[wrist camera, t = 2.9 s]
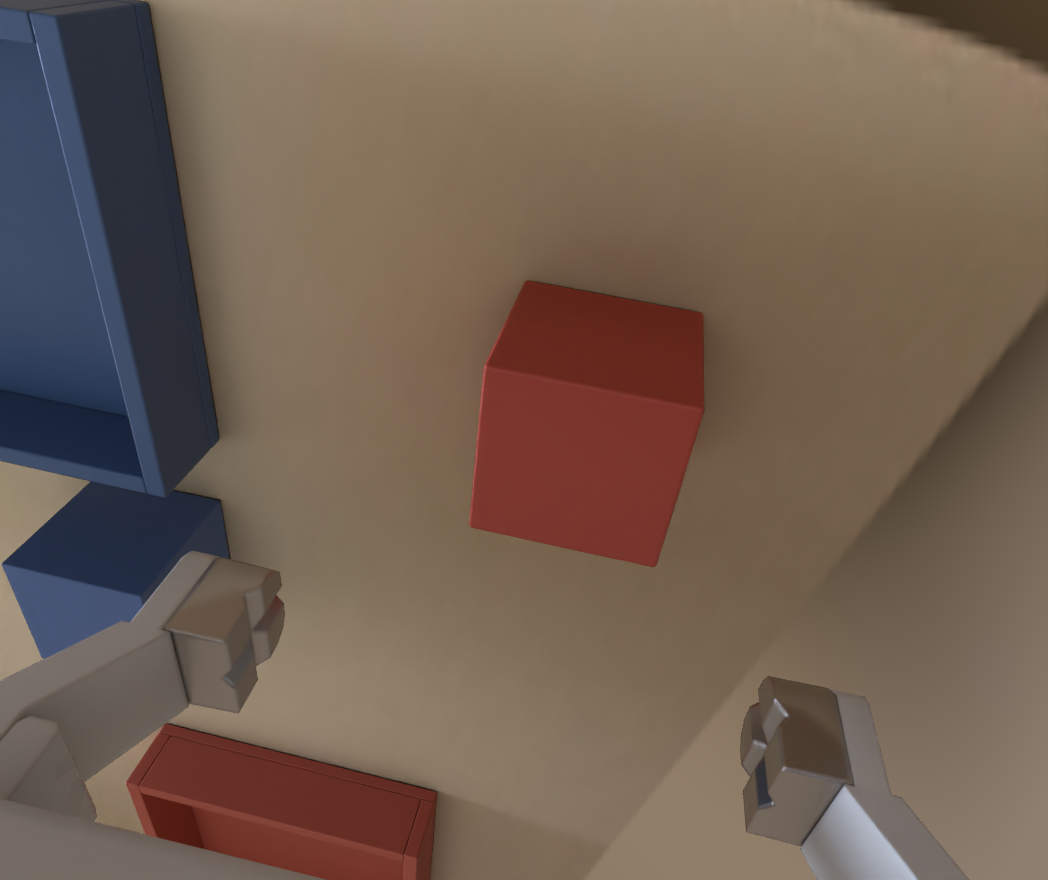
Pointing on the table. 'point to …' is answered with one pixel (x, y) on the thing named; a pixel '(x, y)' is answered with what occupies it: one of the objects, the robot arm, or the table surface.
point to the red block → (588, 421)
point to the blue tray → (94, 254)
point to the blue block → (106, 559)
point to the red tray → (282, 809)
